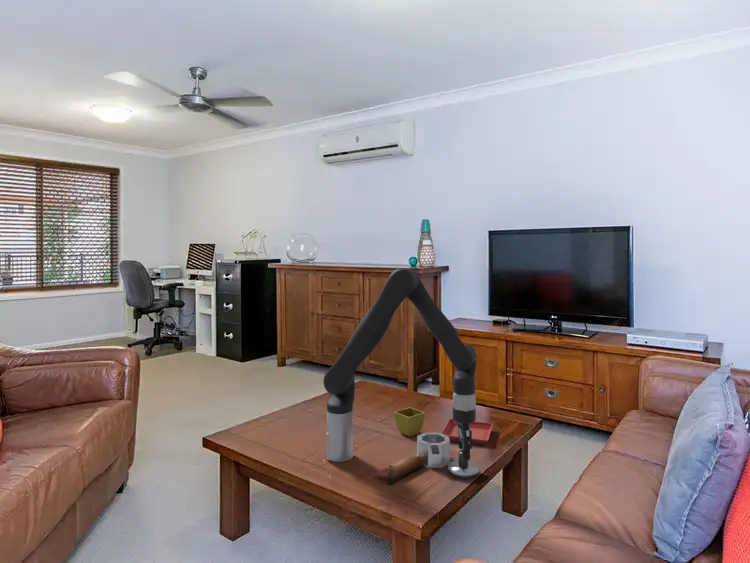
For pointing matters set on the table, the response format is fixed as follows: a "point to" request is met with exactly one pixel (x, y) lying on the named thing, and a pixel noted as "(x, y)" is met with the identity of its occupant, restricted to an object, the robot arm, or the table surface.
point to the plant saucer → (478, 430)
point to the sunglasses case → (399, 469)
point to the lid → (463, 467)
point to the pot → (433, 449)
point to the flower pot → (409, 421)
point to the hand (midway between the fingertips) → (464, 453)
